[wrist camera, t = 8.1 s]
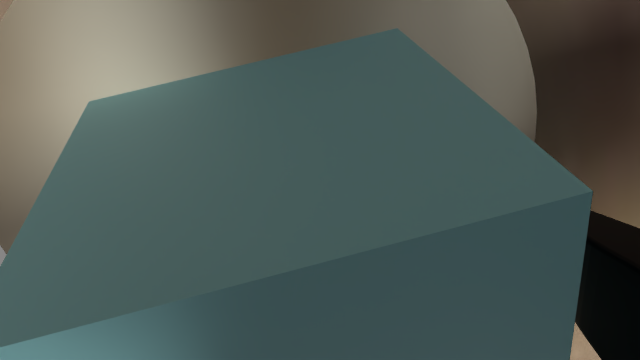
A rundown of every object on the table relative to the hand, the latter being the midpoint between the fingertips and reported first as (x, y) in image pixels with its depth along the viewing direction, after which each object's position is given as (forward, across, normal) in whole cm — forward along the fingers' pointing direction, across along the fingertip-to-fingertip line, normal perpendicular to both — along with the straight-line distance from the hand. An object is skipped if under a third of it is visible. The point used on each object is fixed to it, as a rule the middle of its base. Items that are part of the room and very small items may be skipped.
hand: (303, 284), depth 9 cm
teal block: (+3, 0, 0) cm, 3 cm away
